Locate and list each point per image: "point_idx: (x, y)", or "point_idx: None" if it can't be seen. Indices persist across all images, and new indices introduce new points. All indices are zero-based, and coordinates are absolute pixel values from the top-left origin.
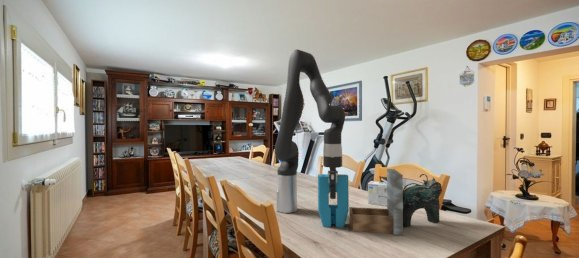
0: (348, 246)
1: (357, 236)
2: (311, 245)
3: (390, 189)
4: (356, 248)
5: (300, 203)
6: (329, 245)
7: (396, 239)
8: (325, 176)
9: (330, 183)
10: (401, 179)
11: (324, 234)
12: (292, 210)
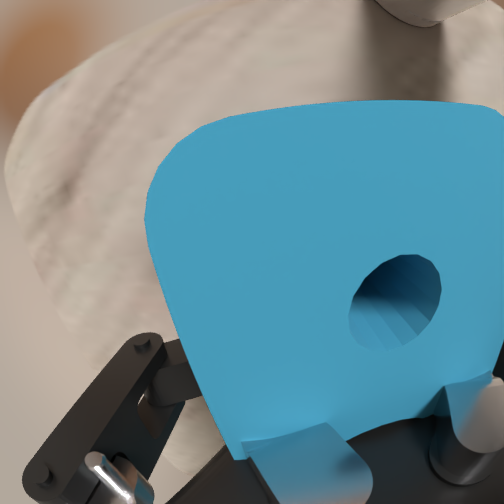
0: (85, 305)
1: (174, 329)
2: (42, 185)
3: None
4: (85, 326)
5: (494, 51)
6: (63, 245)
7: (201, 418)
8: (207, 395)
9: (98, 394)
10: None
11: (142, 204)
12: (386, 3)
